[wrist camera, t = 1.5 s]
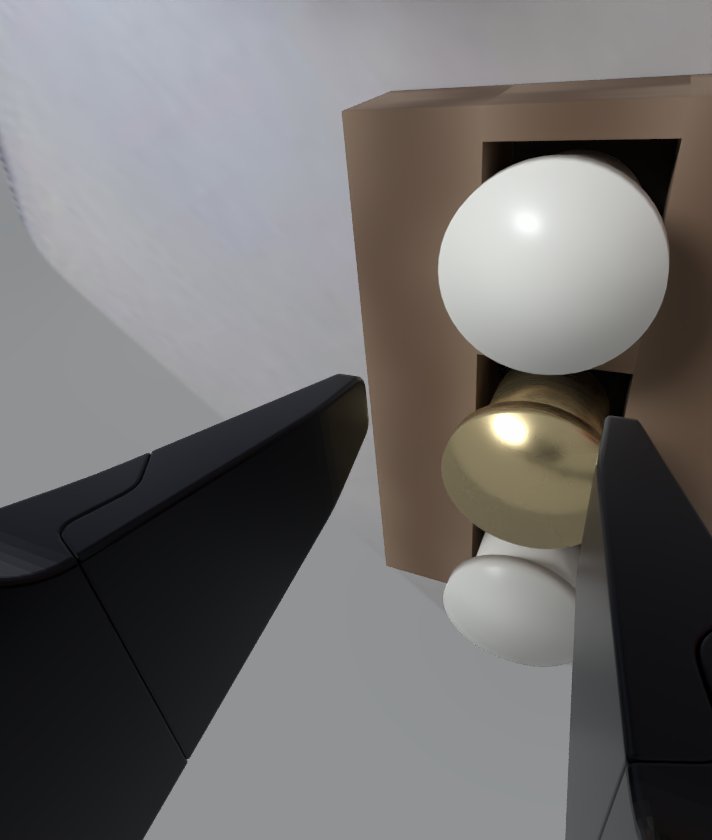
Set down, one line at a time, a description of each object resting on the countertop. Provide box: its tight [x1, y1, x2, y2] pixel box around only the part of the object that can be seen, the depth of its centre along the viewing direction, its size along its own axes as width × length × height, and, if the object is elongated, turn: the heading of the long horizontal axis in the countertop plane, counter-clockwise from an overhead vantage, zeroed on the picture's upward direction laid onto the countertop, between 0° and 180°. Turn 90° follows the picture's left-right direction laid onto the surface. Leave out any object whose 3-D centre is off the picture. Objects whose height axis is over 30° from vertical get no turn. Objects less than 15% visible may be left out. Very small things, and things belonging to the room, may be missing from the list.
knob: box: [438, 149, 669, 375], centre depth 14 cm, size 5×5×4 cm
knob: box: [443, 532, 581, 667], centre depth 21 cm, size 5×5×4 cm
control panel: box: [342, 74, 712, 583], centre depth 20 cm, size 12×18×4 cm, turn 6°
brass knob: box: [441, 369, 610, 549], centre depth 18 cm, size 5×5×4 cm
